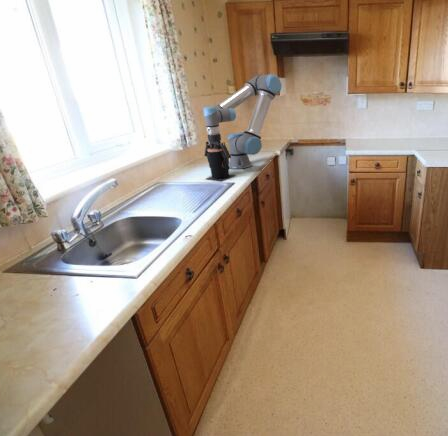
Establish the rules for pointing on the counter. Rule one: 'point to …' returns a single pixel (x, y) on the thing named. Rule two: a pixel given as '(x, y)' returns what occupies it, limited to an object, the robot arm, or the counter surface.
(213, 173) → the coffee jar
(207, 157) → the robot arm
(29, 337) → the counter surface
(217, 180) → the mat
